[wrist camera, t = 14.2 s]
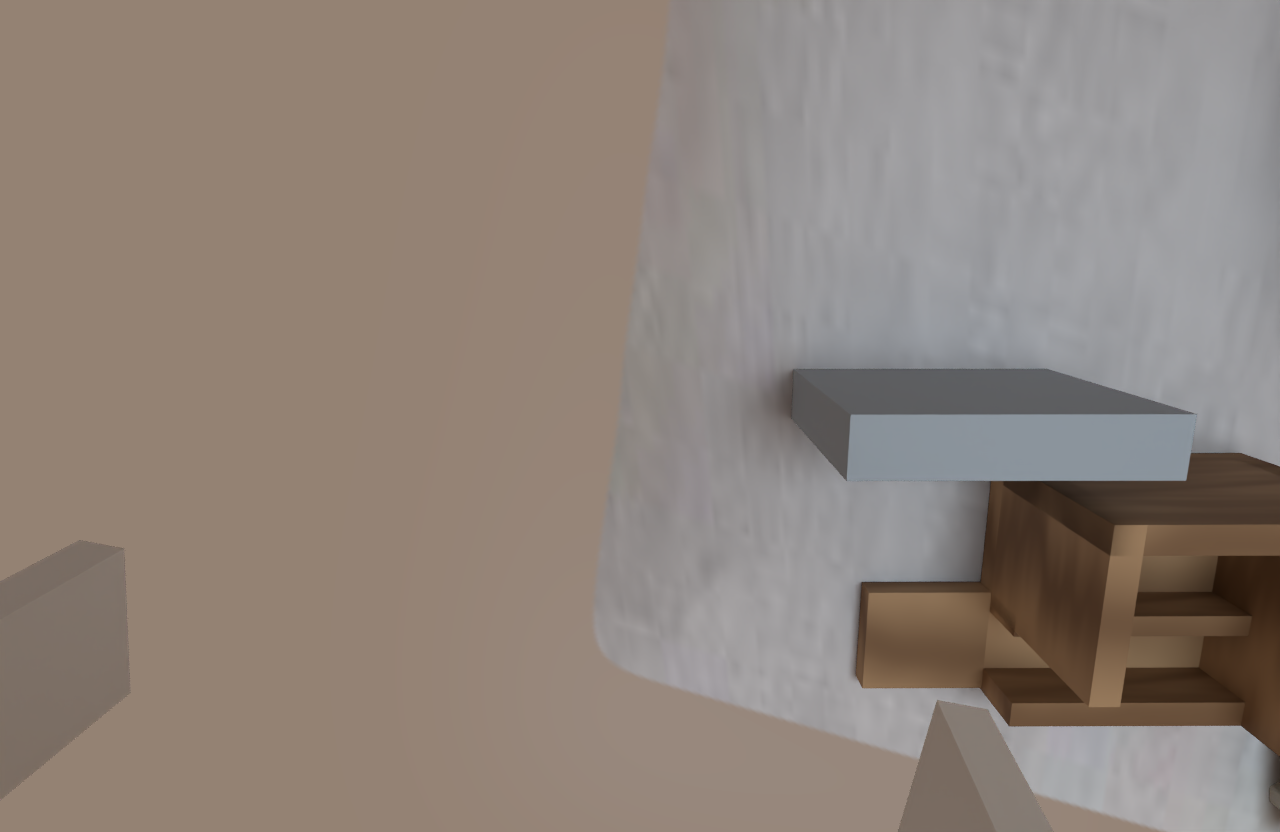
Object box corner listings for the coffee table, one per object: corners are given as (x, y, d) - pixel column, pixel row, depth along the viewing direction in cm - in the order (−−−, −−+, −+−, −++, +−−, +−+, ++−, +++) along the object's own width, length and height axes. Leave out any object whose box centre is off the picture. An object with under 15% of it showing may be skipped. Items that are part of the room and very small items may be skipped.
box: (870, 454, 37) (949, 525, 28) (1241, 453, 37) (1446, 524, 28) (855, 676, 40) (922, 810, 30) (1201, 675, 40) (1376, 809, 30)
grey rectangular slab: (793, 368, 36) (850, 414, 26) (1046, 368, 36) (1197, 414, 26) (791, 418, 37) (846, 481, 27) (1040, 417, 37) (1186, 480, 27)
